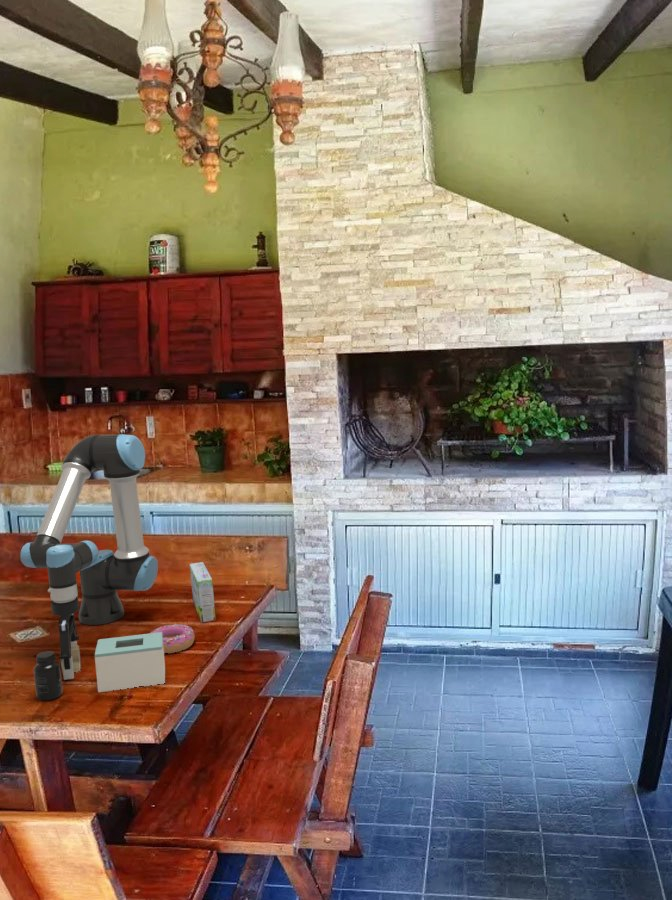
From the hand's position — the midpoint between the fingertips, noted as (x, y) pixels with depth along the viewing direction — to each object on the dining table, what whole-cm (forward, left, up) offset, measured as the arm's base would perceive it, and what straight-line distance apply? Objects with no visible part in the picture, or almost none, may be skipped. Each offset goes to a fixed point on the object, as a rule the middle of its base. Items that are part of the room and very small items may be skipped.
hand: (71, 670), depth 230 cm
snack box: (-37, +40, 0) cm, 55 cm away
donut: (-10, +29, -1) cm, 31 cm away
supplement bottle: (+15, -4, 0) cm, 15 cm away
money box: (+11, +18, 0) cm, 21 cm away
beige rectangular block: (0, 0, 0) cm, 0 cm away
